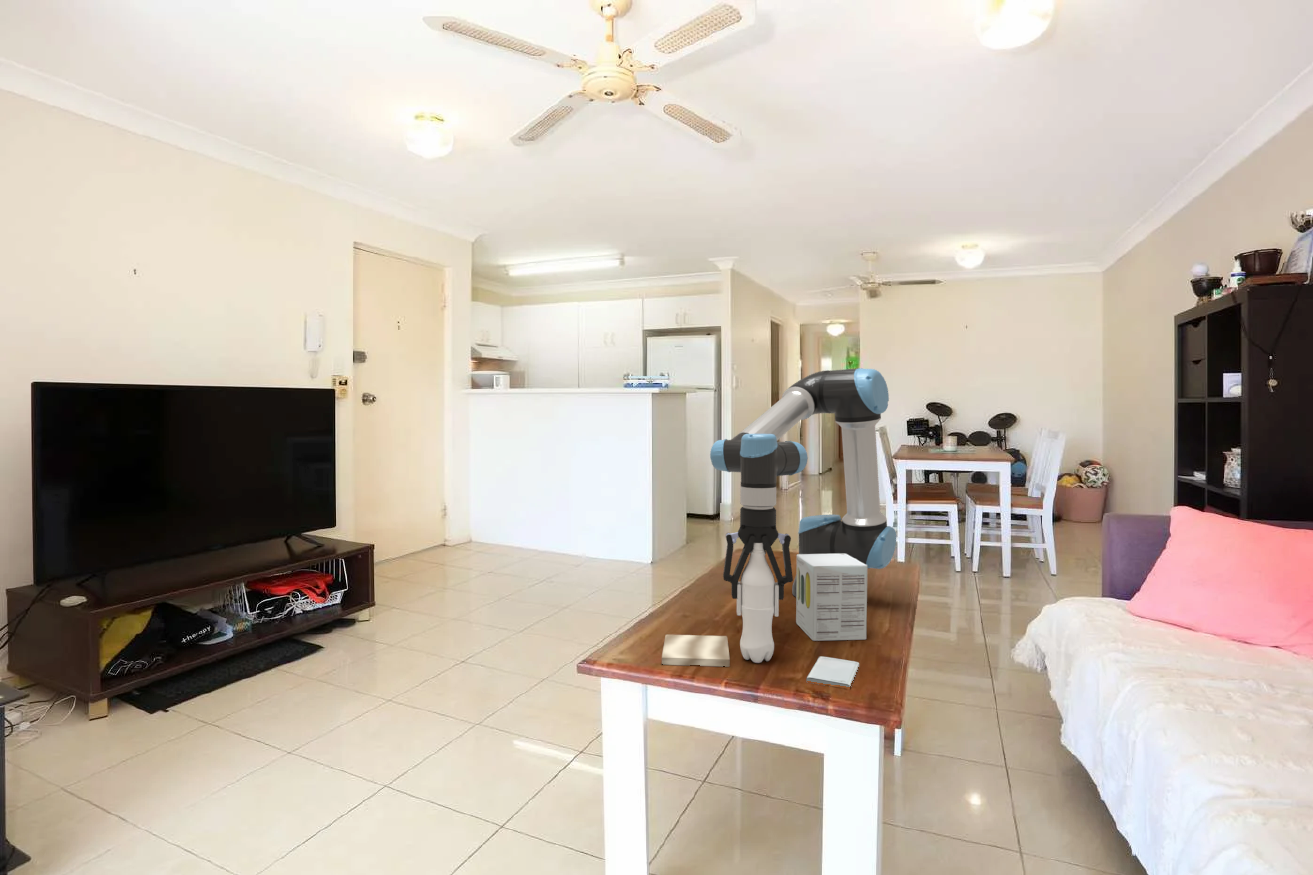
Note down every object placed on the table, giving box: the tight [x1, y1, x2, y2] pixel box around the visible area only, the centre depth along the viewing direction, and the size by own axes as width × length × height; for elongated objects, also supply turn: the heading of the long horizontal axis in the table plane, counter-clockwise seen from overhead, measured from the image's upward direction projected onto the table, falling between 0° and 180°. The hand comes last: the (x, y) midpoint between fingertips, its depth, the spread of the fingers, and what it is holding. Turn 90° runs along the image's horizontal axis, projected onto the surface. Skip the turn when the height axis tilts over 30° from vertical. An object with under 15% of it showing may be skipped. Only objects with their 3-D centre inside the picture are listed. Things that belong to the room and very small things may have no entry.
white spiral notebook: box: [806, 656, 860, 687], centre depth 128 cm, size 2×8×12 cm
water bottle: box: [739, 543, 775, 664], centre depth 135 cm, size 7×7×25 cm
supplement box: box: [795, 553, 868, 642], centre depth 153 cm, size 13×13×18 cm
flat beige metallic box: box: [661, 634, 731, 668], centre depth 139 cm, size 14×14×2 cm
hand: (757, 613), depth 135 cm, fingers closed on water bottle, 7 cm apart
